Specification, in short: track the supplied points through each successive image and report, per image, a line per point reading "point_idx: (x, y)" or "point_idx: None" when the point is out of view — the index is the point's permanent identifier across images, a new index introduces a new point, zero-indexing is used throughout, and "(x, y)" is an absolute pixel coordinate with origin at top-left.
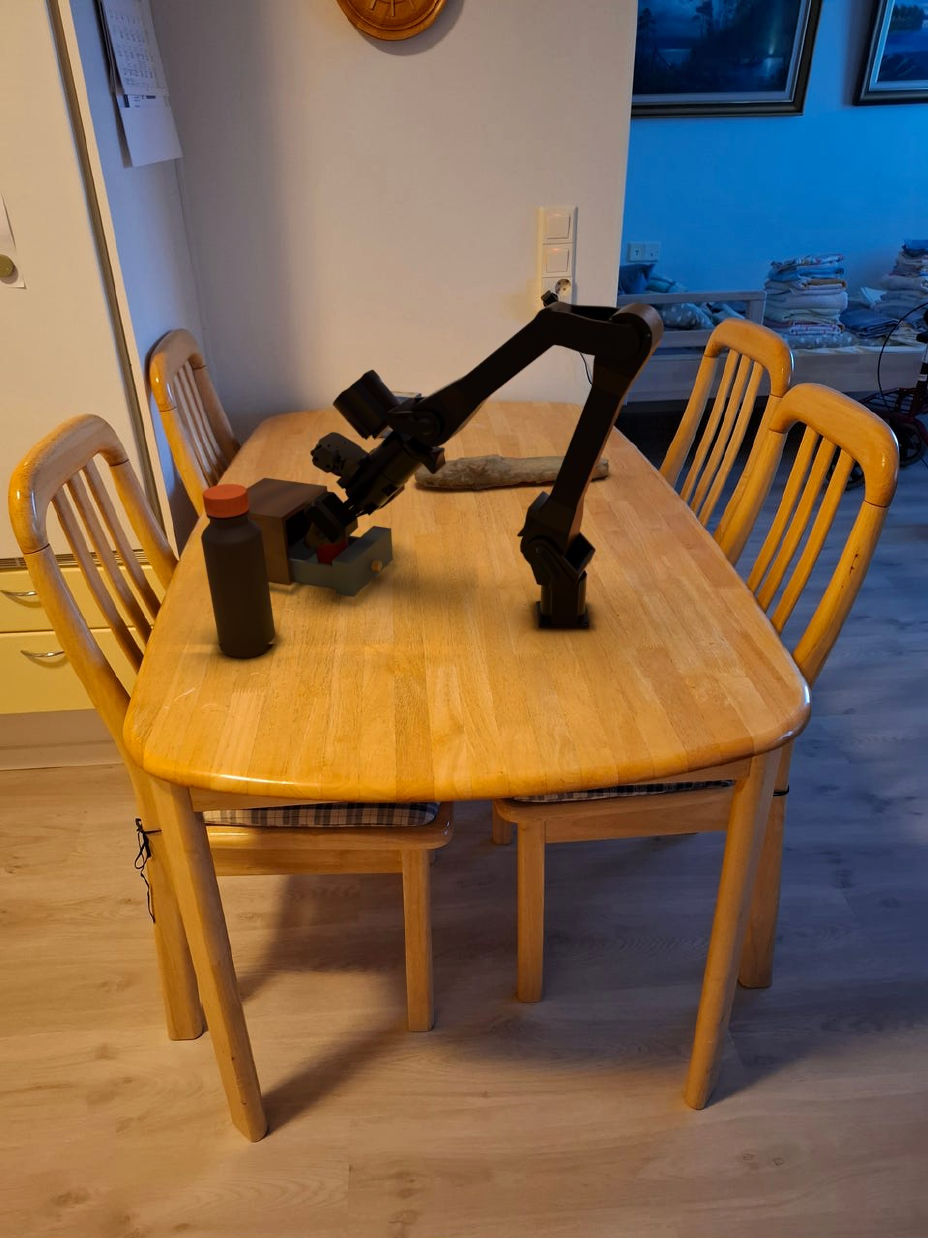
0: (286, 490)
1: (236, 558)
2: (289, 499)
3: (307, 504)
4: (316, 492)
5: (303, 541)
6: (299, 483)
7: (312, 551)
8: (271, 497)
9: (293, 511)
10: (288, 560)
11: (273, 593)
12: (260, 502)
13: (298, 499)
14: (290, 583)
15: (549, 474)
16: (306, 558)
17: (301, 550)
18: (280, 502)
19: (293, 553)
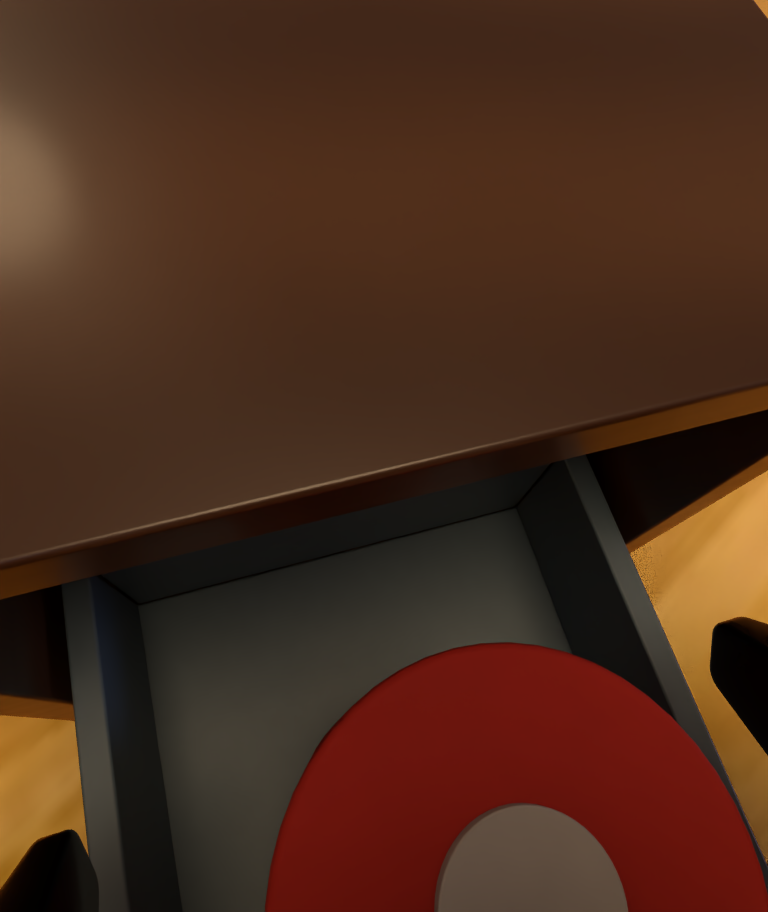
0: (523, 60)
1: None
2: (330, 247)
3: (462, 483)
4: (765, 368)
5: (9, 876)
6: (760, 51)
7: (487, 509)
8: (249, 55)
9: (30, 574)
10: (17, 707)
11: None
12: (46, 49)
13: (411, 340)
14: None
15: None
16: (413, 532)
17: (376, 520)
18: (173, 222)
19: (275, 538)
